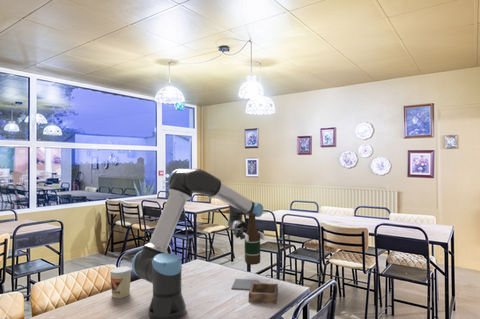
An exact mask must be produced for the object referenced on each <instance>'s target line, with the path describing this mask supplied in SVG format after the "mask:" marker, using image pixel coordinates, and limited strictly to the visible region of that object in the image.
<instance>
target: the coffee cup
mask: <svg viewBox="0 0 480 319" xmlns="http://www.w3.org/2000/svg"><path fill="white" fill-rule="evenodd" d="M109 274H110V284H111V285H110V286H111V296H112V298H115V299H122V298H125V297H128V296H129V295H130V291H131V277H132V276H131V274H132V268H131V267H130V266H126V265H125V266H117V267H114V268H112V269H111V270H110V271H109Z"/></svg>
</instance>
